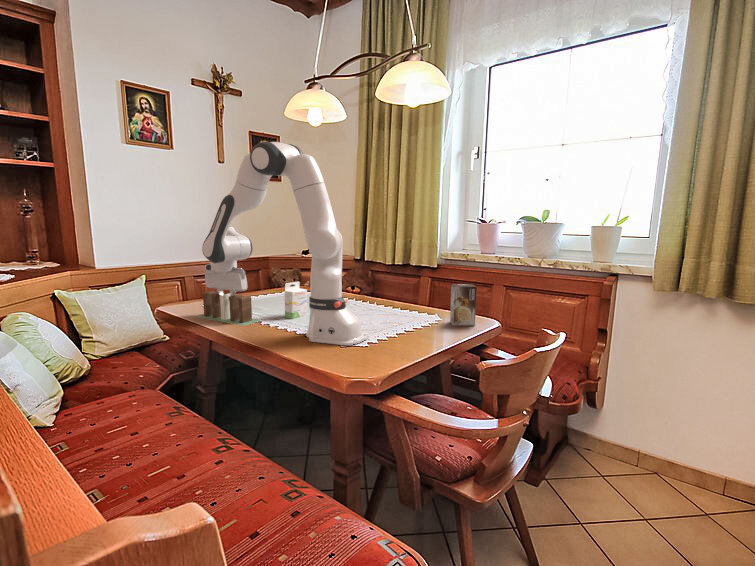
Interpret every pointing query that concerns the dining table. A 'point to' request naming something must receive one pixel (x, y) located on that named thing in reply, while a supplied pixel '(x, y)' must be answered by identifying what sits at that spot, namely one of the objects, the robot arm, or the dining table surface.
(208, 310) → the domino
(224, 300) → the ivory domino
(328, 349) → the dining table surface
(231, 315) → the domino
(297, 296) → the ink box
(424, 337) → the dining table surface
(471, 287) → the coffee box
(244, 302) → the domino
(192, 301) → the dining table surface
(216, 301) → the domino
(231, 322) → the felt mat
